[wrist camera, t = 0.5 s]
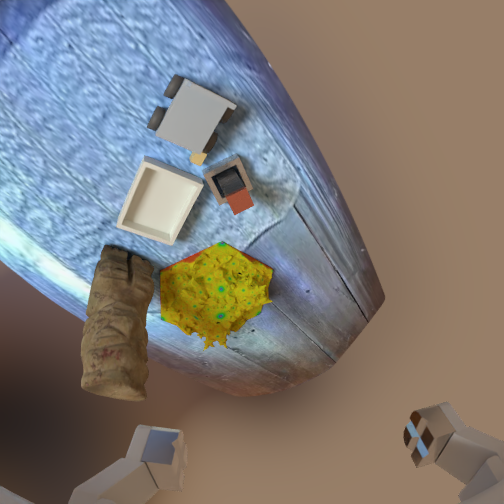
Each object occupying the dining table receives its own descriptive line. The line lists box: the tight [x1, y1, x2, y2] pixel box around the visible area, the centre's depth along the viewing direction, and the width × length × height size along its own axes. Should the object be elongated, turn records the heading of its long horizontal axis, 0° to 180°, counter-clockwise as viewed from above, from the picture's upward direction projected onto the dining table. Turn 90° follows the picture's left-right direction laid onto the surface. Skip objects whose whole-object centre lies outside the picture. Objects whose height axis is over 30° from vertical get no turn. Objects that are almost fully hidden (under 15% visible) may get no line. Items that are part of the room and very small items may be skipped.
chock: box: [190, 151, 207, 166], centre depth 52 cm, size 2×2×2 cm
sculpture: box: [81, 245, 154, 401], centre depth 49 cm, size 12×9×30 cm
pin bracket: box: [202, 154, 253, 205], centre depth 56 cm, size 7×7×2 cm
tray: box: [116, 155, 204, 246], centre depth 54 cm, size 14×12×3 cm
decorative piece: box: [160, 241, 273, 351], centre depth 70 cm, size 26×8×30 cm
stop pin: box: [215, 167, 254, 215], centre depth 52 cm, size 4×4×11 cm
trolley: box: [147, 74, 237, 155], centre depth 43 cm, size 10×11×12 cm
